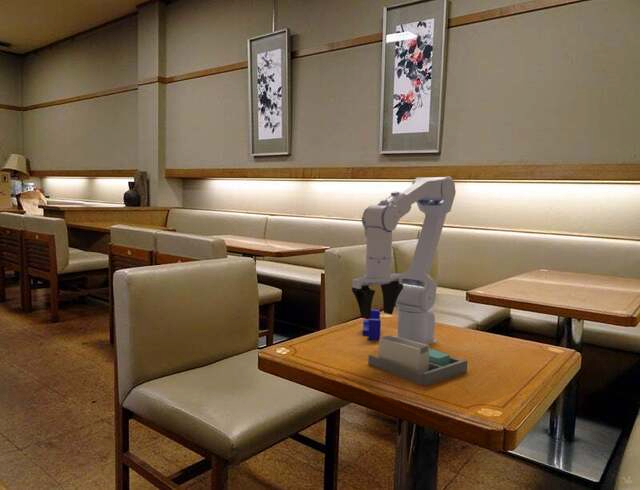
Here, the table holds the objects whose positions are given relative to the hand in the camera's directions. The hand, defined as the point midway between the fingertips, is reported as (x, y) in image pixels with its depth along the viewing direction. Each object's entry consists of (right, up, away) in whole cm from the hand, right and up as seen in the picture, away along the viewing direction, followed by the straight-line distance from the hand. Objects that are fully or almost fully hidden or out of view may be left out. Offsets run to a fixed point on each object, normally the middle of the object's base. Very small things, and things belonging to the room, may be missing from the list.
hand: (377, 315), depth 111 cm
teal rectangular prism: (+10, -10, -5) cm, 15 cm away
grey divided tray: (+7, -11, -7) cm, 15 cm away
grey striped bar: (+5, -10, -9) cm, 14 cm away
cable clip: (+1, -9, +19) cm, 21 cm away
